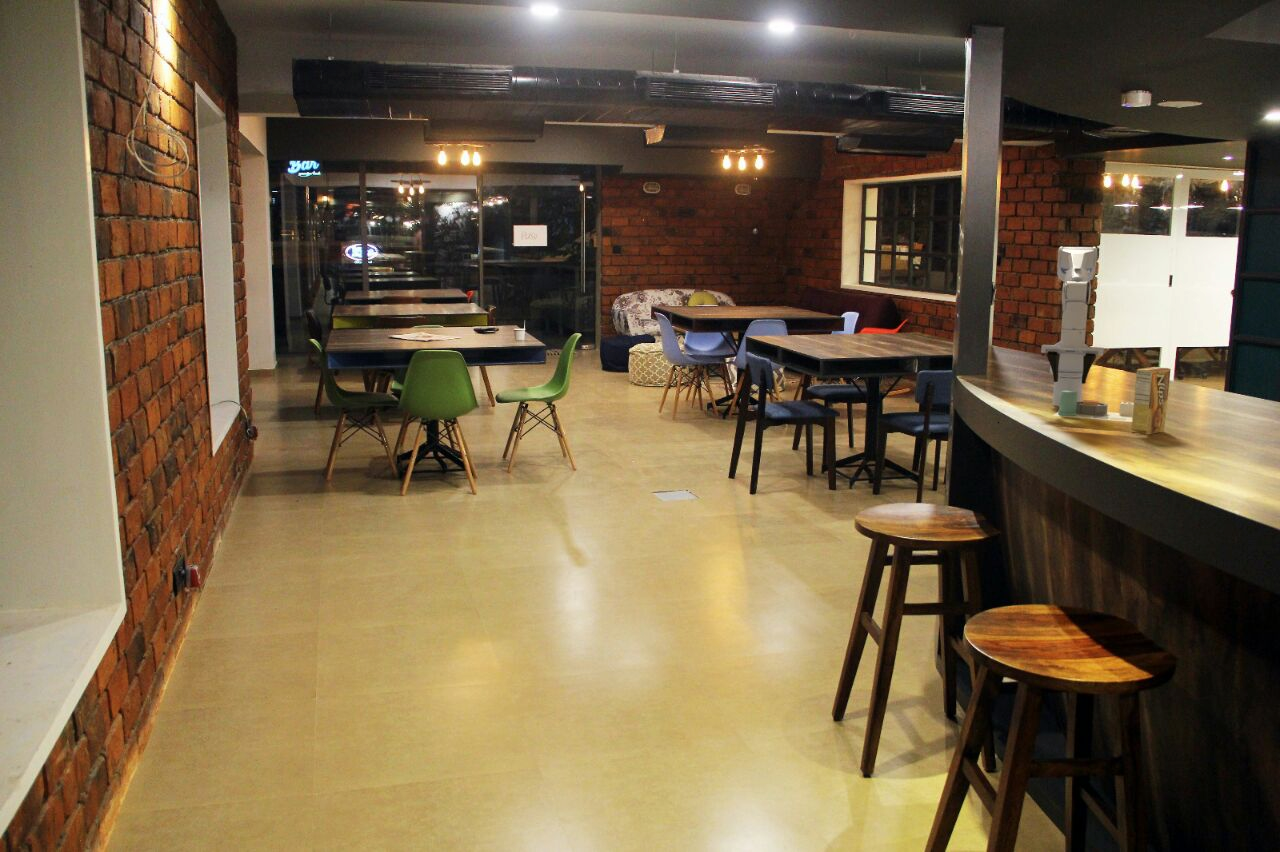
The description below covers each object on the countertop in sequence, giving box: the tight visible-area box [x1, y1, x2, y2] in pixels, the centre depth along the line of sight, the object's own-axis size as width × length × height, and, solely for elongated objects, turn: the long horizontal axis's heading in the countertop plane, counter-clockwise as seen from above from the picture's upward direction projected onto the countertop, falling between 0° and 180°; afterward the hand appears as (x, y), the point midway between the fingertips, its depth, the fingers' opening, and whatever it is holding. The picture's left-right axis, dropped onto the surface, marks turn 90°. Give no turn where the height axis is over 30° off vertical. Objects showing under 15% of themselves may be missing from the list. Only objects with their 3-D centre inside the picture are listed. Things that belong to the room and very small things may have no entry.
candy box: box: [1131, 366, 1172, 436], centre depth 255 cm, size 9×4×15 cm, turn 129°
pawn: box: [1057, 391, 1077, 416], centre depth 276 cm, size 4×4×6 cm
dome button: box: [1081, 399, 1100, 406], centre depth 280 cm, size 6×6×2 cm
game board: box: [1052, 401, 1134, 423], centre depth 276 cm, size 15×22×4 cm
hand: (1069, 382), depth 275 cm, fingers open, 6 cm apart
